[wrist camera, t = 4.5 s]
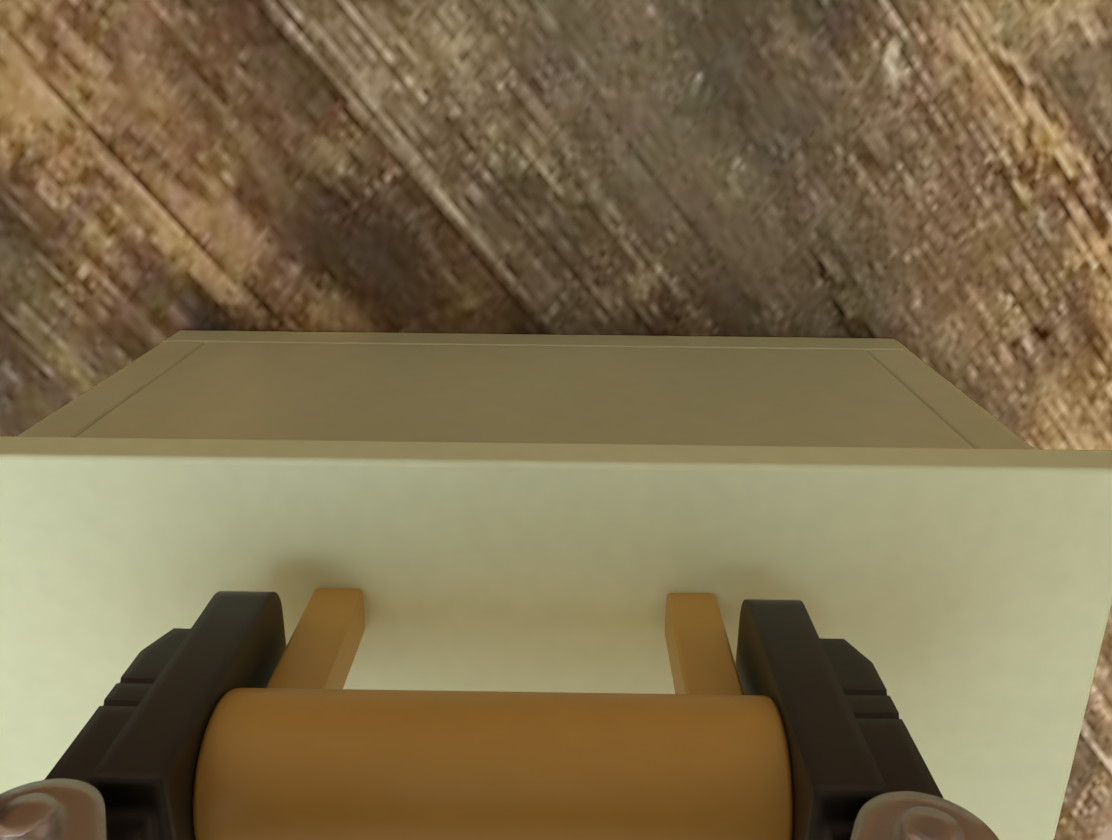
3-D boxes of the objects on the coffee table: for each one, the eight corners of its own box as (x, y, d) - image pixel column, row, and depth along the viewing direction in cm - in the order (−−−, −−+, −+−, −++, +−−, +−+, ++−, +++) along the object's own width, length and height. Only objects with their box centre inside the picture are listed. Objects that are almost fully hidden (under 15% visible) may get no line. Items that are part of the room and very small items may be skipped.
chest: (179, 329, 22) (-62, 483, 14) (895, 337, 22) (1100, 498, 14) (242, 799, 27) (93, 1129, 18) (830, 809, 27) (952, 1145, 18)
